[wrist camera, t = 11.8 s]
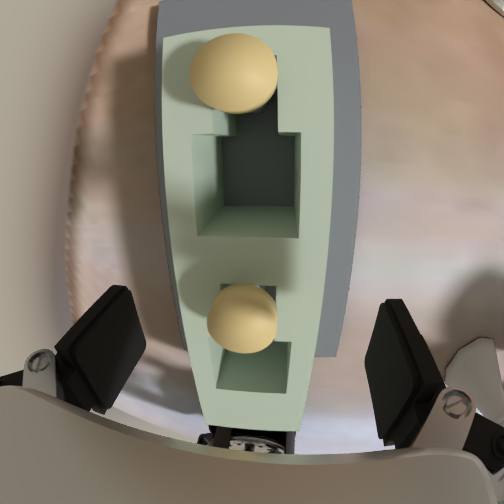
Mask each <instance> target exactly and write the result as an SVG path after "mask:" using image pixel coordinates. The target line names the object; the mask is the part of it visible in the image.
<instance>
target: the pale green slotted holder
mask: <svg viewBox="0 0 504 504" xmlns="http://www.w3.org/2000/svg"><path fill="white" fill-rule="evenodd" d="M230 33H243V34H248V35H251V36H254V37H256V38H258V39H260V40H261V41H263V42H264V43H265V44H266V45H267V46H268V47H269V48H270V49H271V50H272V52H273V54H274V56H275V58H276V62H277V70H278V82H277V88H278V133H279V136H295V168H294V207H292V206H224V188H223V157H222V137H231V136H236V114H229V113H225V112H222V111H219V110H217V109H215V108H213V107H211V106H209V105H207V104H205V103H204V102H203V101H201V100H200V99H199V98H198V97H197V95H196V94H195V93H194V91H193V89H192V87H191V84H190V78H189V71H190V65H191V62H192V60H193V58H194V56H195V54H196V53H197V52H198V50H199V49H200V48H201V47H202V46H203V45H204V44H205V43H207V42H208V41H210V40H212V39H213V38H215V37H218V36H221V35H224V34H230ZM162 136H163V158H164V175H165V189H166V201H167V212H168V222H169V231H170V240H171V248H172V256H173V264H174V271H175V278H176V285H177V291H178V297H179V303H180V309H181V315H182V321H183V326H184V332H185V337H186V342H187V347H188V352H189V357H190V362H191V366H192V371H193V375H194V380H195V384H196V388H197V393H198V397H199V401H200V405H201V409H202V413H203V416H204V420H205V424H208V425H215V426H222V427H231V428H241V429H253V430H269V431H299V430H300V425H301V421H302V416H303V412H304V407H305V403H306V398H307V393H308V388H309V383H310V377H311V372H312V366H313V361H314V355H315V349H316V343H317V336H318V330H319V323H320V316H321V309H322V301H323V293H324V285H325V276H326V267H327V257H328V246H329V234H330V221H331V206H332V187H333V159H334V95H333V69H332V52H331V38H330V28H325V27H313V26H293V25H261V26H241V27H229V28H219V29H211V30H203V31H197V32H190V33H185V34H179V35H174V36H169V37H165V38H163V56H162ZM234 284H250V285H265V286H276V306H277V313H278V314H277V331H276V335H275V338H274V340H273V341H272V343H271V344H270V345H269V346H267V347H266V348H264V349H263V350H260V351H258V352H254V353H236V352H232V351H229V350H227V349H225V348H223V347H222V346H220V345H219V344H218V343H216V342H215V341H214V340H213V338H212V337H211V335H210V334H209V331H208V329H207V317H208V314H209V311H210V309H211V307H212V304H213V302H214V300H215V298H216V296H217V294H218V293H219V292H220V291H221V290H223V289H224V288H226V287H228V286H231V285H234Z"/></svg>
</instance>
